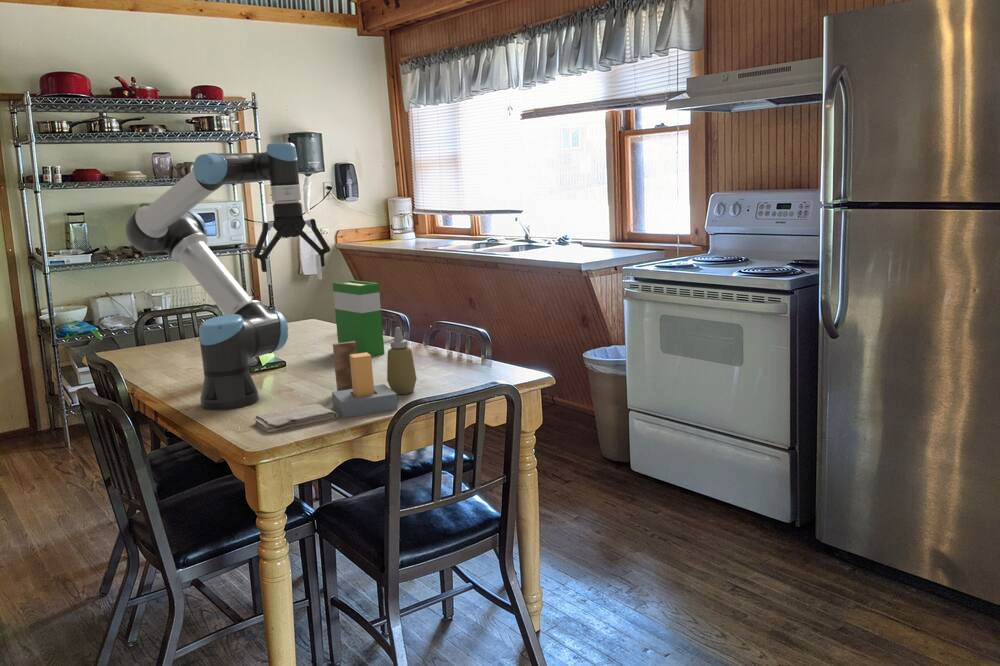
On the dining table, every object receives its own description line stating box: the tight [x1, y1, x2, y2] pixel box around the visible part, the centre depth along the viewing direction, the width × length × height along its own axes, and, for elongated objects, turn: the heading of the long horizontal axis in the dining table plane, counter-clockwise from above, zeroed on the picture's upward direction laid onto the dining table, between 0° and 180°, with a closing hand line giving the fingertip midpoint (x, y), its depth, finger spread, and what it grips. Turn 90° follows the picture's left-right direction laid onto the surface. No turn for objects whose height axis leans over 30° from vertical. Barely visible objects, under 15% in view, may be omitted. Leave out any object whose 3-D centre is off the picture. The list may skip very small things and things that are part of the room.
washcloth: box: [253, 403, 339, 434], centre depth 208 cm, size 12×18×3 cm, turn 124°
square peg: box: [350, 352, 375, 397], centre depth 215 cm, size 4×4×14 cm
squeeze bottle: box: [386, 326, 417, 395], centre depth 229 cm, size 8×8×18 cm
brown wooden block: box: [332, 341, 357, 391], centre depth 233 cm, size 6×2×14 cm, turn 112°
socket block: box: [331, 383, 399, 419], centre depth 216 cm, size 14×12×4 cm
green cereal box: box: [332, 279, 385, 358], centre depth 285 cm, size 18×7×24 cm, turn 40°
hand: (294, 281), depth 228 cm, fingers open, 13 cm apart
